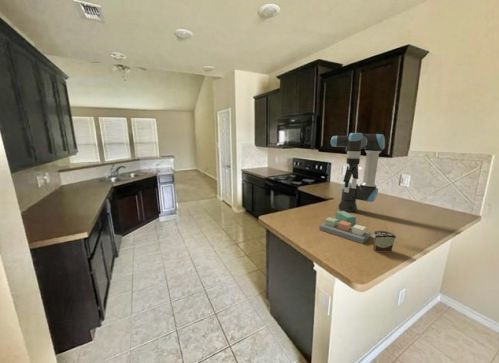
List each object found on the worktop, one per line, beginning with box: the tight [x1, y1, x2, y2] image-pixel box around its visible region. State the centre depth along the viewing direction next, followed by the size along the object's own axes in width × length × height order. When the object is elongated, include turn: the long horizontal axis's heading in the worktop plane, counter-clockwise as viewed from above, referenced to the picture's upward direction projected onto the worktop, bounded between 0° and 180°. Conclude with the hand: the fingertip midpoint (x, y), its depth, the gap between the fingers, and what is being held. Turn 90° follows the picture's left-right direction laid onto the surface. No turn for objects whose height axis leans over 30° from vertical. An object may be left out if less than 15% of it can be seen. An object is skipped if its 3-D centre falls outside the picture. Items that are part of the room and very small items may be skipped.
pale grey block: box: [352, 224, 367, 236], centre depth 138 cm, size 6×6×4 cm
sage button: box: [324, 216, 339, 227], centre depth 151 cm, size 6×6×4 cm
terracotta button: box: [338, 221, 351, 231], centre depth 145 cm, size 6×6×4 cm
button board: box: [318, 222, 372, 245], centre depth 145 cm, size 14×28×3 cm, turn 45°
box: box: [334, 210, 357, 227], centre depth 161 cm, size 7×14×8 cm, turn 16°
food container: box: [372, 230, 397, 253], centre depth 125 cm, size 12×6×10 cm, turn 92°
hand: (350, 190), depth 144 cm, fingers open, 13 cm apart
